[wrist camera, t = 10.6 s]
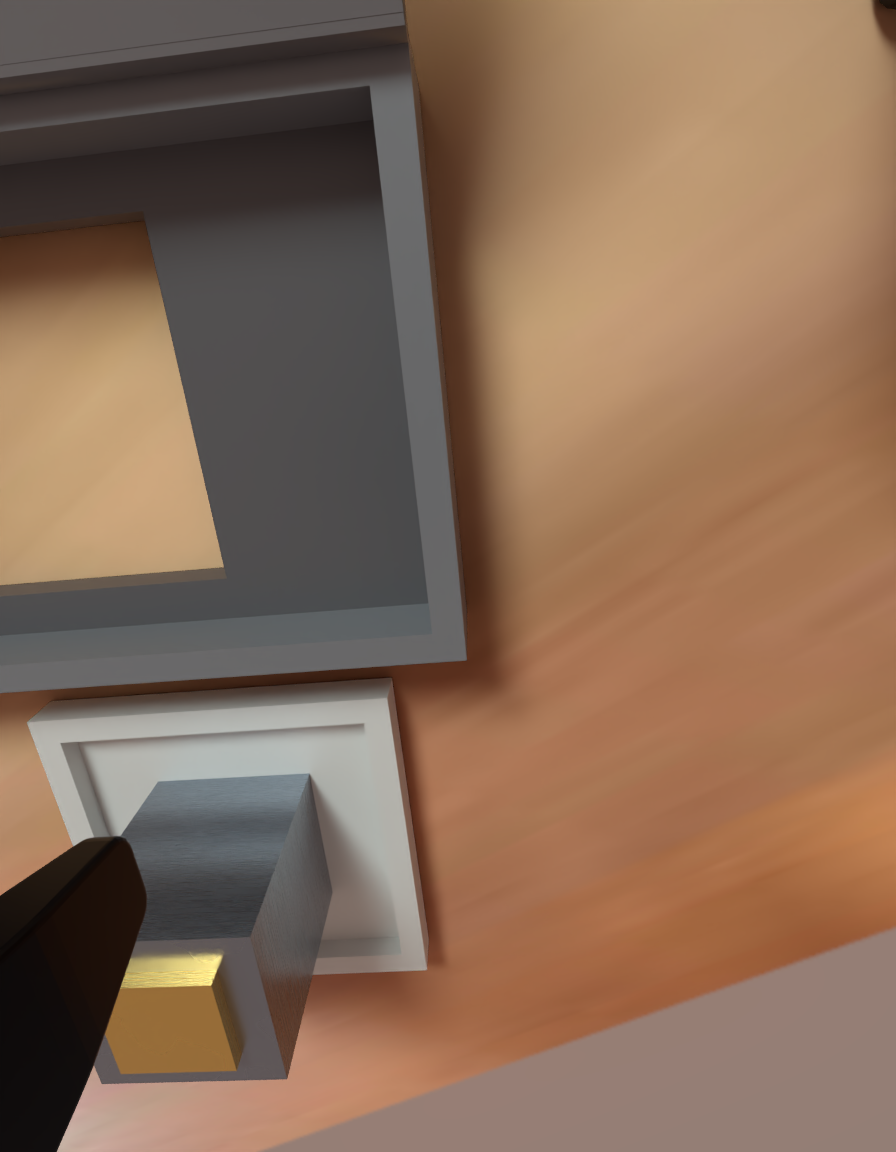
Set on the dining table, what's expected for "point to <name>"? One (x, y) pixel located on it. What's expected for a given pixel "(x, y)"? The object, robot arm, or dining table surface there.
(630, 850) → the dining table surface
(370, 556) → the case
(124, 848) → the robot arm
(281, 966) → the module
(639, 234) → the dining table surface
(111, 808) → the tray
